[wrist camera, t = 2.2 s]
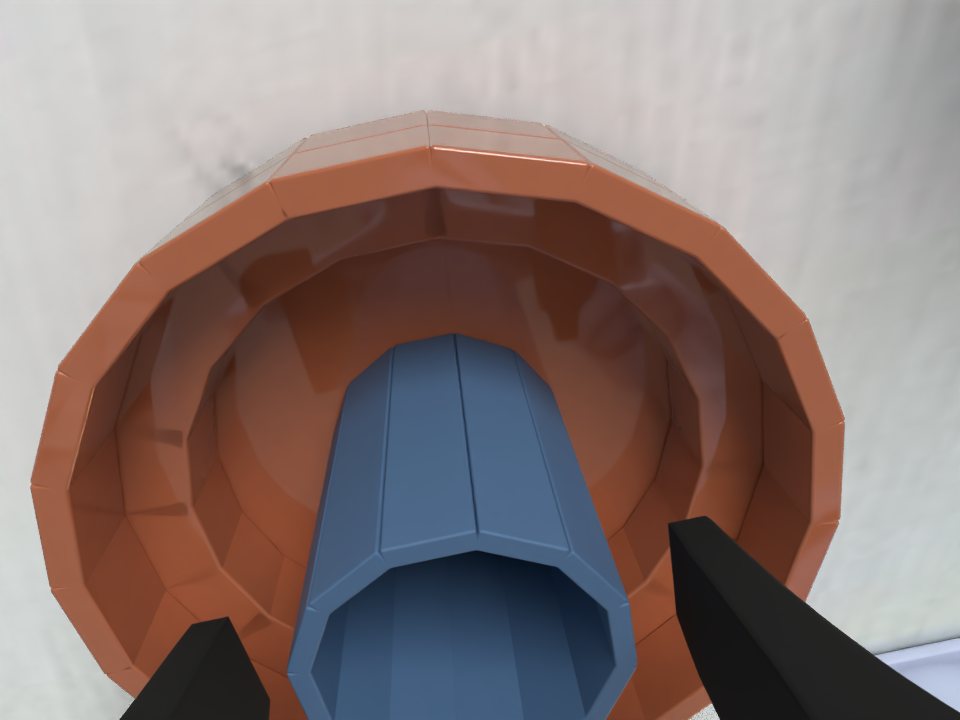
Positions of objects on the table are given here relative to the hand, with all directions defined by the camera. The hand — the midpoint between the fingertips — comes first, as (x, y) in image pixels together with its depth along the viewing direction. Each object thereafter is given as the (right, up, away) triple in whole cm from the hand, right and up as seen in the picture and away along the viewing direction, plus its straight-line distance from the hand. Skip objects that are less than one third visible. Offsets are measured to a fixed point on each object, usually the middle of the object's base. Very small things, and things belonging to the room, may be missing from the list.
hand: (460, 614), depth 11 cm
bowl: (0, +3, +5) cm, 6 cm away
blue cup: (0, +2, +5) cm, 5 cm away
